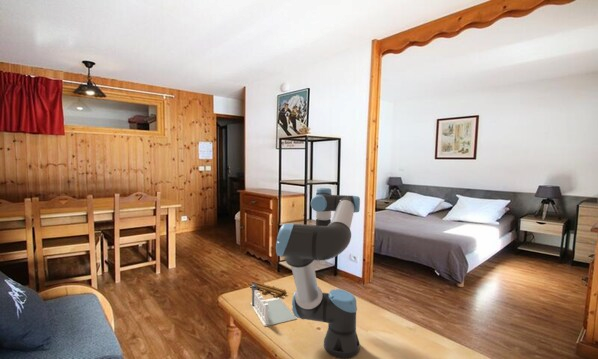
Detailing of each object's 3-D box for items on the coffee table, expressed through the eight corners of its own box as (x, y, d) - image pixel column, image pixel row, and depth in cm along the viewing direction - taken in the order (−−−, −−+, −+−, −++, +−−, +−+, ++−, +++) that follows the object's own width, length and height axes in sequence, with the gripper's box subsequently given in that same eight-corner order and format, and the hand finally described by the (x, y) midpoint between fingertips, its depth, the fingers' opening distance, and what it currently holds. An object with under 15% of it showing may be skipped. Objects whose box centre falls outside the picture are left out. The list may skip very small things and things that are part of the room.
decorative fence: (277, 298, 169) (288, 292, 178) (277, 295, 169) (288, 289, 177) (245, 288, 183) (256, 282, 191) (245, 284, 183) (256, 279, 191)
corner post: (258, 306, 161) (258, 285, 160) (252, 307, 160) (252, 286, 159) (256, 303, 164) (256, 283, 163) (250, 304, 163) (250, 284, 162)
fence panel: (254, 305, 159) (254, 289, 159) (257, 305, 160) (257, 289, 159) (265, 323, 143) (265, 305, 143) (268, 322, 144) (268, 304, 143)
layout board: (296, 319, 149) (296, 318, 149) (264, 326, 142) (264, 326, 142) (278, 297, 171) (278, 296, 171) (249, 303, 164) (249, 302, 164)
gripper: (324, 215, 158) (323, 259, 160) (309, 219, 148) (308, 265, 150) (336, 217, 153) (335, 262, 155) (322, 221, 143) (321, 269, 145)
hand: (322, 264), depth 152 cm, fingers closed
